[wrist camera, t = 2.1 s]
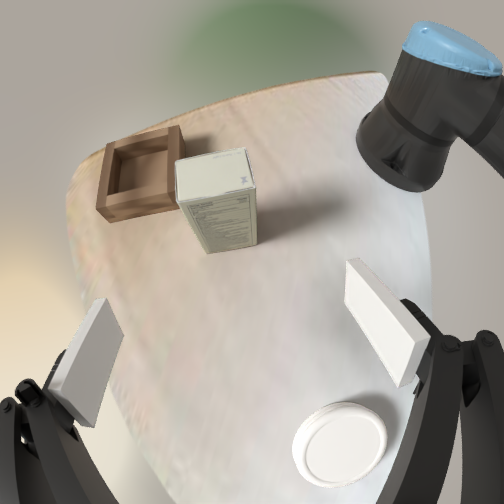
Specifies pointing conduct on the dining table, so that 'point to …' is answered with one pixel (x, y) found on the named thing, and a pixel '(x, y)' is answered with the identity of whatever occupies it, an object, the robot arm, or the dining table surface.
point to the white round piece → (339, 444)
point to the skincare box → (218, 199)
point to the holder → (140, 175)
